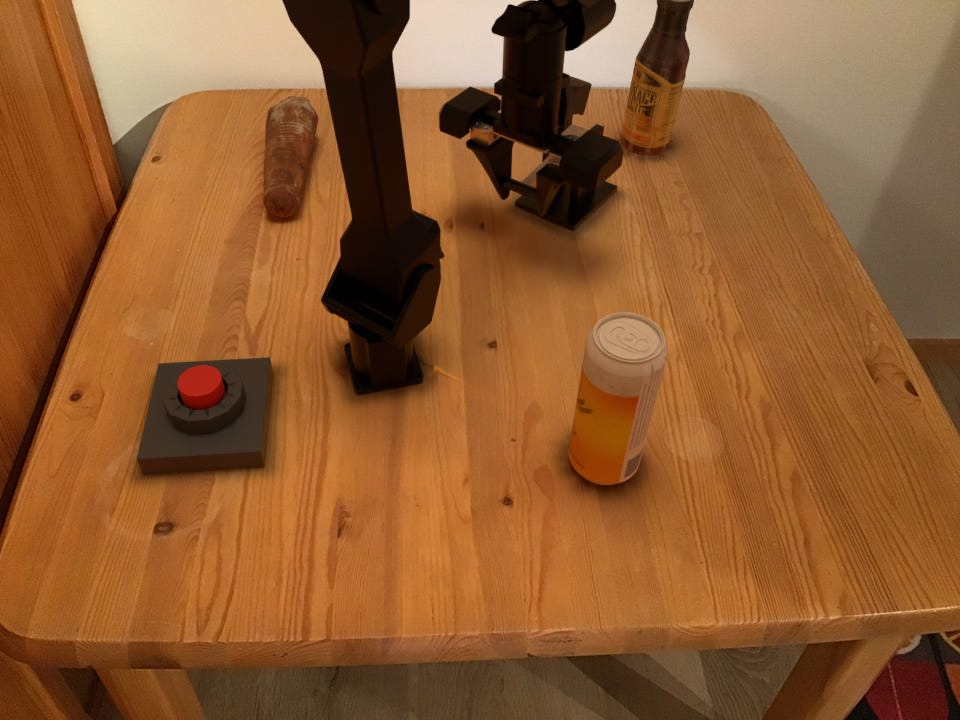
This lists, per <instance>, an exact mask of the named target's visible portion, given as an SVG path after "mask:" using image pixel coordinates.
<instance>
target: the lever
mask: <svg viewBox="0 0 960 720" xmlns="http://www.w3.org/2000/svg"><path fill="white" fill-rule="evenodd" d="M588 130H589V129H587V128H584V127H582V126H579V125H576V124H574V123H572V124H571V125H570V126H569V127H568V128H567V129H566V130H564V131H563V132H562V133H561V135H564V136H566V135H575V136H578V137H581V136H582V135H583V134H584V133H586V132H587V131H588ZM549 160H550V159H549V156H548V157H547V158H546V159H545V160H544V161H543V162H542V161H541V162H540V163H539V164H538V165H537V166H536V167H535V168H534V169H533V170H532V171H531V172H530V173H529V174H528V175H527V176H526V177H524V178H523V180H522V181H519V180H517V179H516V178H512V177H511V178H510V177H506V178H505V179H504V181H503V187H504V188H506V189H509V190H510V192H514V193H516V194H519V195H521V196H522V195H523V196H525V197H528V198H530V199H533V200H535V201H537V188H535V187H536V186H537V185H536V173H537V172H538V171H539V170H540V169H541V168H542V167H544V166H545V165H546V164H547V163H548V162H549Z"/></svg>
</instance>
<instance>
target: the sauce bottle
mask: <svg viewBox="0 0 960 720" xmlns="http://www.w3.org/2000/svg"><path fill="white" fill-rule="evenodd" d="M694 3H695V0H656V10H655V16H654V21H653V24H652V27H651V28H650V30H649V32H648V33H647V36H646V38H645V40H643V41H644V42H643V43H642V45H641V47H640V49H639V51H638V53H637V55H636V56H635V61H634V66H633V71H632V75H631V81H630V86H629V91H628V96H627V102H626V106H625V107H626V108H625V112H624V118H623V121H622V122H623V123H622V126H621V143H622V146H623V147H624V148H625V149H627V150H628V151H630V152H632V153H635V154H637V155H643V156H653V155H654V156H655V155H659V154H661V153H663V152H664V151H666V150H667V149H668V147H669V145H670V141H671V138H672V134H673V130H674V126H675V122H676V117H677V113H678V110H679V105H680V100H681V98H682V94H683V93H682V92H683V89H684V84H685V80H686V77H687V76H686V75H687V69H688V65H689V62H690V55H691V51H690V50H691V49H690V47H689V44H688V41H687V38H686V32H687V29H688V28H687V25H688V21H689V18H690V17H689V16H690V12H691V10H692V9H693V7H694Z"/></svg>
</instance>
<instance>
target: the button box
mask: <svg viewBox="0 0 960 720" xmlns="http://www.w3.org/2000/svg"><path fill="white" fill-rule="evenodd" d="M272 364H273V363H272V359H271V357H269V356H268V357H251V358H233V359H232V358H231V359H230V358H229V359H215V360H194V361H178V362H177V361H176V362H159V363H158V364H157V368H156V371H155V377H154V382H153V386H152V390H151V393H150V398H149V403H148V407H147V412H146V416H145V421H144V425H143V429H142V433H141V438H140V444H139V447H138V452H137V455H136V461H137V464H138V466H139V468H140V470H141V473H142V475H143V476H147V475H163V474H177V473H193V472H206V471H209V472H210V471H225V470H240V469H241V470H242V469H255V468H256V469H257V468H265V467H266V458H267V448H268V437H269V436H268V435H269V425H270V416H271V406H272V396H273V395H272V393H273V385H274V384H273V383H274V369H273V365H272ZM199 365H208V366H212V367H214V368H216V369H217V370H218V371H219V372H220V374H221V377H222V380H223V384H224V387H225V394H224V397H223V398H222V400H221V401H220V402H219V403H218V404H216V405H215V406H213V407H210V408H207V409H201V410H197V409H192V408H189V407H187V406H186V405H185V404H184V403H183V401H182V398H181V395H180V392H179V389H178V386H177V383H178V379H179V377H180V376H181V374H182V373H184V372H185V371H186V370H188V369H190V368H192V367H195V366H199Z"/></svg>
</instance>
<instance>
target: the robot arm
mask: <svg viewBox="0 0 960 720" xmlns="http://www.w3.org/2000/svg"><path fill="white" fill-rule="evenodd" d="M281 1H282V4H283V6H284V10H285V11H286V14H287V16H288V19H289V21H290V23H291V24H292V25H293V27H294V28H295V30H296V31H297V32H298V34H299V35H300V36H301V38H302V39H303V40H304V42H305V43H306V44H307V46H308V47H309V49H310V50H311V51H312V52H313V54H314V56H315V57H316V58H317V60H318V61H319V64H320V67H321V72H322V77H323V83H324V87H325V91H326V96H327V101H328V105H329V106H328V107H329V111H330V116H331V121H332V126H333V130H334V131H333V132H334V135H335V136H334V137H335V140H336V145H337V151H338V156H339V160H340V161H339V162H340V165H341V170H342V174H343V179H344V185H345V191H346V195H347V199H348V205H349V209H350V214H351V220H350V221H349V223H348V225H347V226H346V228H345V230H344V231H343V233H342V234H341V237H340V238H339V249H340V250H339V253H340V257H339V258H338V261H337V262H336V265H335V267H334V268H333V272H332V273H331V276H330V278H329V280H328V283H327V285H326V287H325V289H324V291H323V293H322V295H321V298H320V303H321V304H322V306H323V307H324V308H325V310H326V312H327V313H329V314H331V315H334V316H337V317H339V318H341V319H343V320H344V321H346V322H347V325H348V336H349V342H347V343H345V344H344V346H343V350H344V354H345V359H346V363H347V368H348V371H349V374H350V379H351V384H352V387H353V388H352V389H353V392H354V393H355V394H357V395H365V394H370V393H374V392H380V391H384V390H385V391H386V390H392V389H397V388H400V387H406V386H407V387H408V386H411V385H417V384H422V383H423V382H424V373H423V370H422V367H421V364H420V360H419V358H418V354H417V351H416V348H415V345H414V341H413V340H414V339H415V338H417V336H418V335H419V334H420V333H422V332H423V331H424V330H425V329H426V328H427V327H429V325H430V324H431V323H432V321H433V318H434V313H435V309H436V304H437V300H438V295H439V291H440V286H441V282H442V264H441V260H442V259H444V258H445V254H444V251H443V250H442V244H441V234H442V233H441V232H442V231H441V230H442V229H441V227H440V224H439V221H438V220H436V219H433V218H432V217H429V216H427V215H425V214H423V213H420V212H419V211H416V210H415V209H414V208H413V206H412V205H413V204H412V198H411V189H410V182H409V174H408V169H407V168H408V167H407V158H406V151H405V143H404V135H403V129H402V120H401V114H400V104H399V97H398V89H397V82H396V73H395V68H394V56H393V52H394V50H395V48H396V46H397V44H398V43H399V41H400V38H401V37H402V35H403V33H404V31H405V29H406V27H407V25H408V23H409V21H410V19H411V17H410V16H411V0H281ZM616 11H617V2H616V0H525V1H522V2H520V3H519V4H517V5H516V4H515V5H514V4H512V3H509V4H507V6H506V8H505V10H504V12H502V14H501V15H500V16H498V17H497V18H496V19H495V21H494V23H493V24H492V26H491V33H492V34H493V35H496V36H499V37H502V38H503V40H502V41H503V44H502V45H503V46H502V69H501V70H502V71H501V73H502V74H501V78H500V79H498V80H497V81H495V82H494V83H493V94H492V93H489V92H487V91H484V90H481V89H479V88H476V87H473V86H468V87H467V88H466V89H464V90H463V91H461V92H460V93H458V94H457V95H455V96H453V97H452V98H451V99H449V100H447V102H444V104H442V105H441V107H440V110H439V111H438V129H439V132H441V133H444V134H446V135H448V136H451V137H453V138H456V139H458V140H461V139H463V138H464V137H465V136H467V135H468V134H469V135H470V137H469V139H467V140H466V141H465V147H466V149H468V150H470V151H472V153H473V154H474V156H475V157H476V159H477V160H478V162H479V163H480V165H481V166H482V168H483V169H484V171H485V173H486V175H487V176H488V178H489V180H490V182H491V184H492V185H493V187H494V189H495V191H496V193H497V194H498V196H499V198H500V199H501V200H502V201H506V200H507V199H508V198H509V197H510V195H511V190H509V189H506V188H504V187H503V181H504V179H505V178H506V177H510V178H512V175H513V174H512V173H513V172H512V170H513V148H514V144H515V143H517V144H518V145H521V146H524V147H526V148H529V149H532V150H534V151H537V152H539V153H542V154H543V153H545V154H547V153H549V159H550V160H549V162H548V163H547V164H546V165H545V166H544V167H542V168H541V169H540V170H539V171H538V172H537V173H536V185H537V209H538V214H539V215H540V216H543V215H544V214H545V213H546V212H547V211H548V209H549V207H550V205H551V203H552V201H553V199H554V198H555V196H556V194H557V192H558V190H559V188H560V186H561V185H563V184H565V183H566V182H568V183H570V184H573V185H575V186H578V187H580V188H583V189H585V190H596V189H597V188H598V187H599V186H600V185H601V184H603V183H604V182H605V181H606V182H607V180H608V179H609V178H611V176H612V175H614V173H616V172H617V171H618V170H619V169H620V168H621V167H622V166H623V165H622V164H623V160H624V159H623V158H624V153H625V151H624V148H623V144H621V142H620V141H619V140H618V139H615V138H611V137H609V136H606V135H604V134H603V135H601V134H598V133H595V132H592V131H590V129H587V130H588V131H587V132H586V133H584V134H583V135H582V136H581V137H578V136H575V135H566V136H564V135H561V134H559V133H558V128H559V127H560V126H561V127H564V128H565V127H566V126H567V125H568V124H570V123H571V115H573V116H575V115H579V116H583V115H585V111H586V108H587V104H588V100H589V96H590V93H591V90H592V85H593V84H592V82H589V81H586V80H583V79H580V78H577V77H575V76H572V75H570V74H569V73H566V72H564V66H565V55H566V52H571V51H574V50H576V49H578V48H579V47H581V46H582V45H583V44H585V43H586V42H588V41H589V40H591V39H592V38H593V37H595V36H596V35H597V34H599V33H600V32H602V31H603V30H605V29H606V28H607V27H608V26H609V25H611V23H612V21H613V20H614V18H615V16H616ZM494 94H495V95H494ZM497 95H498V96H500V98H499V97H498V96H497Z"/></svg>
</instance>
